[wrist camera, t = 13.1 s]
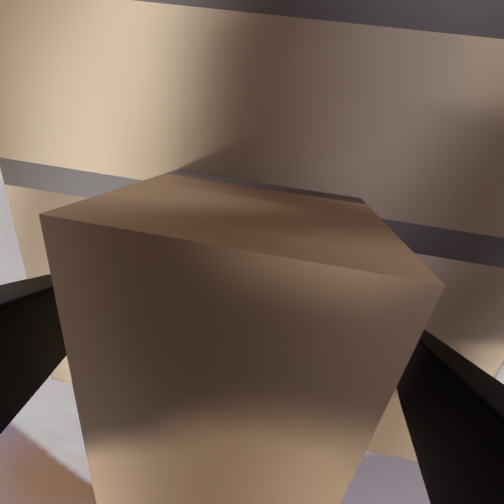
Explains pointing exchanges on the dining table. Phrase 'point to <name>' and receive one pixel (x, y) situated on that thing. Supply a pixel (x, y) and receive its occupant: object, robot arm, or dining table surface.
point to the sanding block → (231, 336)
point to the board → (275, 125)
